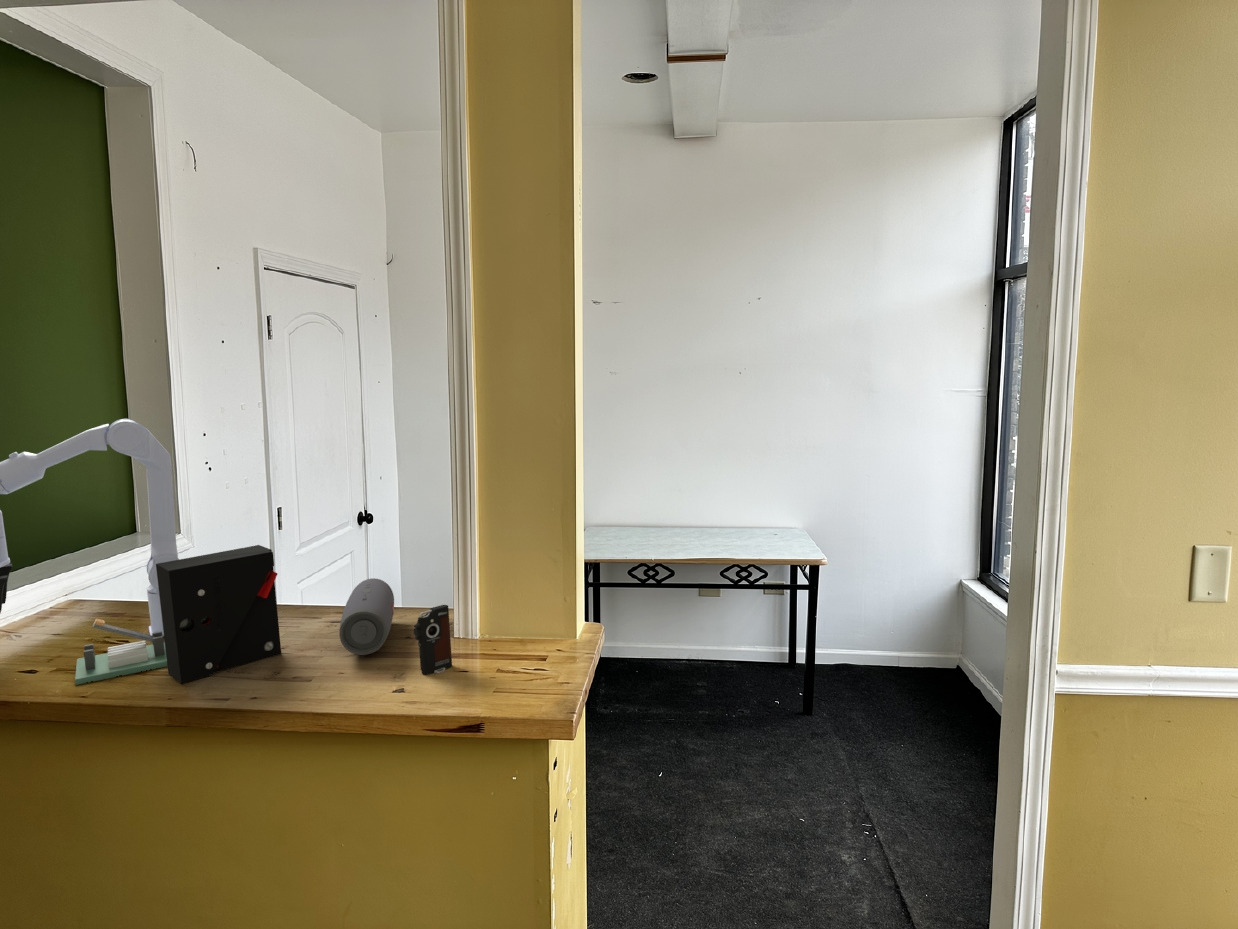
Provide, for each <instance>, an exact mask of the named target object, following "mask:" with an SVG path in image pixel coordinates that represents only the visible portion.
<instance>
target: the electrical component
mask: <svg viewBox="0 0 1238 929" xmlns="http://www.w3.org/2000/svg"><path fill="white" fill-rule="evenodd" d="M274 567H275V559H274V551H272V549H271V548H268V547H266V546H263V545H260V544H257V545H251V546H245V547H241V548H235V549H231V550H230V549H229V550H225V551H223V550H222V551H219V552H214V553H207V554H203V555H198V556H197V555H196V556H191V557H187V558H186V557H185V558H179V560H174V561H169V562H163V563H158V564H156V570H157V579H158V588H159V596H160V605H161V614H162V623H163V631H164V636H163V641H164V642H165V649H166V657H167V673H168V675H169V676H170V677H172V678H173V679H174V680H175V681H176V682H178V683H179V684H180V685H185V684H188V683H191V682H194V681H198V680H201V679H204V678H207V677H210V676H211V675H212V676H213V675H214V674H216V673H218V672H222V671H227V670H229V669H233V668H237V667H240V666H244V665H249V664H250V663H254V662H257V661H261V660H265V659H269V658H272V657H276V656H280V655H282V646H281V635H280V634H281V633H280V626H279V625H280V622H279V616H278V614H279V612H278V603H277V592H276V584H275V580H276V579H277V576H278V572H276V571H274Z"/></svg>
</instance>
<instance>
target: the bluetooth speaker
mask: <svg viewBox="0 0 1238 929" xmlns="http://www.w3.org/2000/svg"><path fill="white" fill-rule="evenodd" d="M394 613H395V595H394V592H393V589H392V588H391V586H390V585H389V584H388V583H387V582H386V581H385V580H382V579H380V578H367V579H364V580H363V581H361V582H360V583H358V584H357V585H356V586H355V587H354V589H353V590H352V591H351V594H350V595H349V597H348V599H347V601H346V603H345V606H344V609H343V612H342V614H341V618H340V624H339V628H338V630H339V641H340V642H341V645H342V647H343V648H345V650H346V651H347V652H349V653H351V654H352V655H353V654H354V655H359V656H365V655H370V654H373V653H375V652H377V651H378V650H380V649H381V648H382V646H383V645H384V644H385V642H386V640H387V638H388V636H389V633H390V630H391V628H392V627H391V626H392V624H393V618H394Z"/></svg>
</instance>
